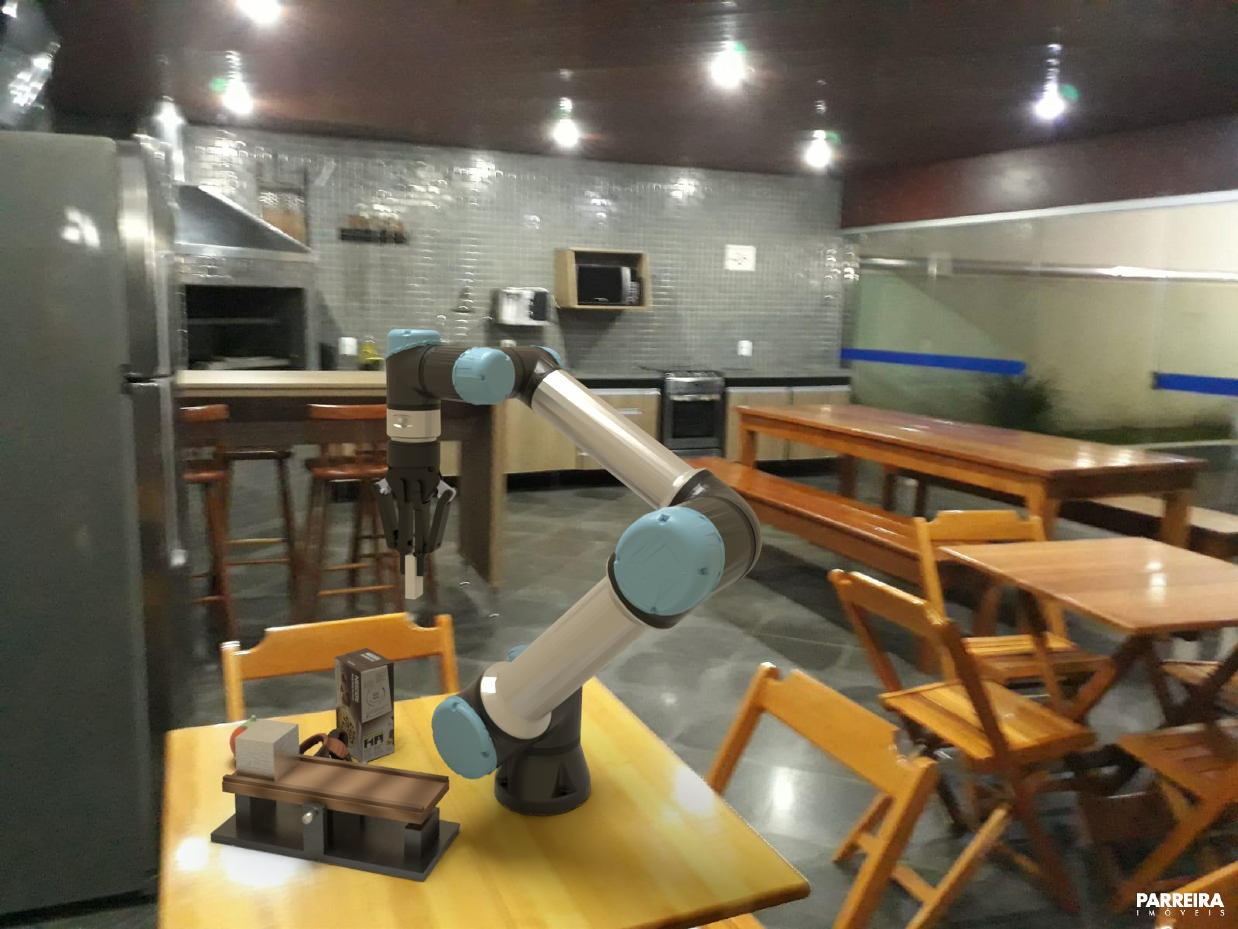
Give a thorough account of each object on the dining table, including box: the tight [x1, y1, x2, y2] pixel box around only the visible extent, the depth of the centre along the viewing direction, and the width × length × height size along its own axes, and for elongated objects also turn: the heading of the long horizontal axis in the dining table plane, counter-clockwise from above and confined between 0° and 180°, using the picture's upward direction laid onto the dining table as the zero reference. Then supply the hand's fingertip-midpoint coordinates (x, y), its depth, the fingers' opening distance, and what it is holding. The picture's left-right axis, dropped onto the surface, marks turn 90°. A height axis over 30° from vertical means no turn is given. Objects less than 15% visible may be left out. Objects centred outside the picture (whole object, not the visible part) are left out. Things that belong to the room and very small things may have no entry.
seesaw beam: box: [221, 754, 450, 824], centre depth 122 cm, size 30×9×2 cm, turn 77°
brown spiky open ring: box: [299, 728, 354, 762], centre depth 139 cm, size 12×10×8 cm
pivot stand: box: [210, 761, 461, 883], centre depth 122 cm, size 32×15×8 cm, turn 77°
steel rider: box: [235, 718, 300, 782], centre depth 123 cm, size 6×6×6 cm
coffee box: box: [333, 647, 395, 763], centre depth 147 cm, size 9×6×16 cm
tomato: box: [229, 714, 262, 759], centre depth 142 cm, size 7×7×8 cm
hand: (414, 596), depth 128 cm, fingers closed
